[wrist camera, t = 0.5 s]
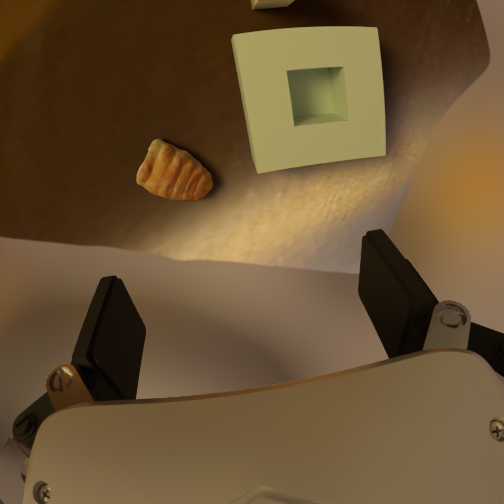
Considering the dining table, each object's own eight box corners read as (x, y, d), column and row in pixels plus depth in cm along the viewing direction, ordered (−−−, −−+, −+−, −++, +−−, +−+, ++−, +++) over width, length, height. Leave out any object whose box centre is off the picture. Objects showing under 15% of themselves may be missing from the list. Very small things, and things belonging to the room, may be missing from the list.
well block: (231, 40, 30) (233, 34, 25) (355, 31, 29) (377, 27, 24) (252, 157, 38) (257, 173, 33) (365, 142, 38) (385, 155, 33)
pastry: (222, 164, 38) (222, 174, 35) (199, 207, 41) (197, 221, 38) (154, 133, 35) (147, 141, 32) (135, 180, 38) (127, 192, 35)
